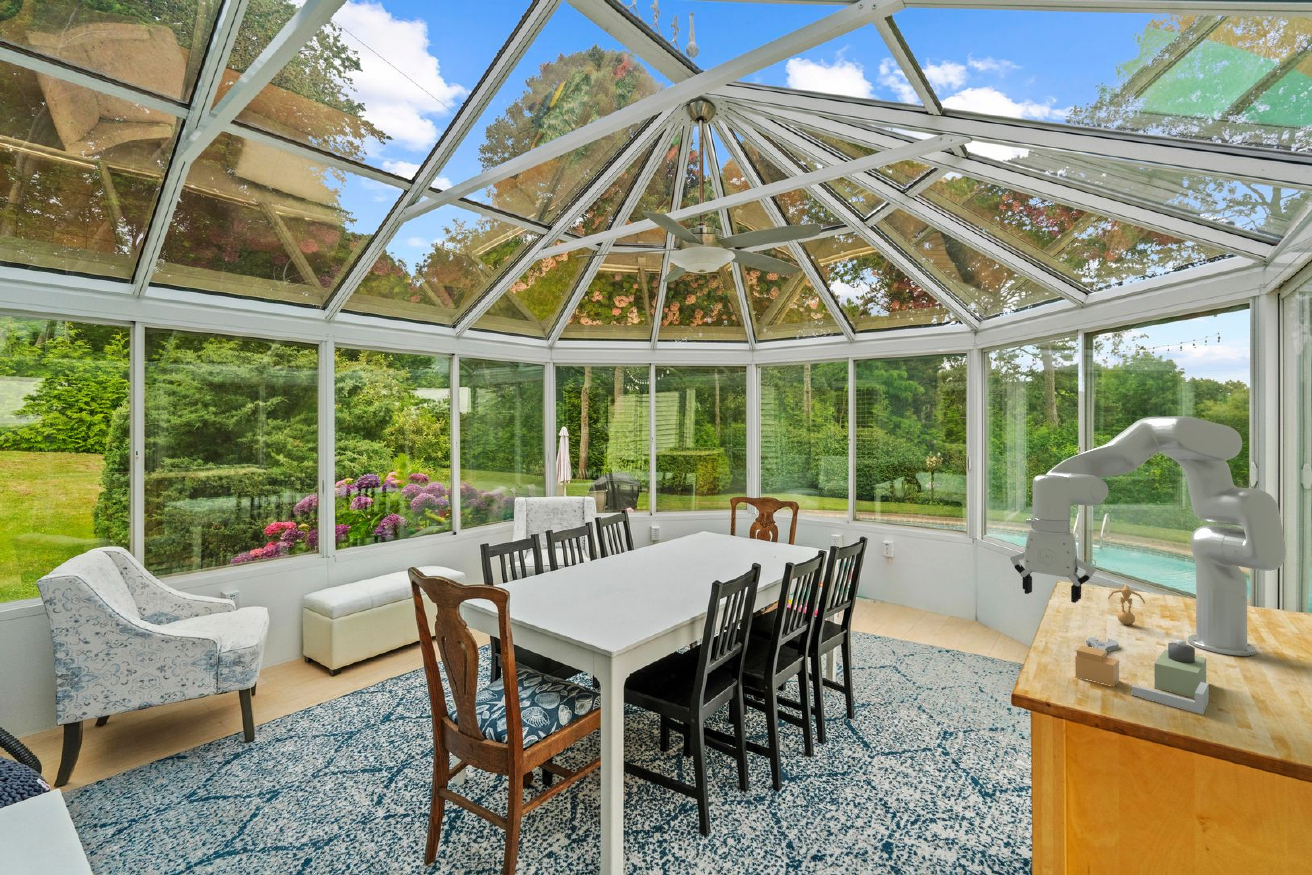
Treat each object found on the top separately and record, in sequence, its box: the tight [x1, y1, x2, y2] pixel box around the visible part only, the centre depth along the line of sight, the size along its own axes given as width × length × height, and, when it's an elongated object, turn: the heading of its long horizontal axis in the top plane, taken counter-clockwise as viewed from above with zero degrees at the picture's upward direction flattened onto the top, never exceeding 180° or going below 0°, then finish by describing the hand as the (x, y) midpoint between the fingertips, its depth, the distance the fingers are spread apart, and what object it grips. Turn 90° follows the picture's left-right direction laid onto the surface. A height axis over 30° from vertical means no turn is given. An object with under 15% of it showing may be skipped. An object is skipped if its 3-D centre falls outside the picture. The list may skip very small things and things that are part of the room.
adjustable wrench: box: [1085, 636, 1120, 652], centre depth 146 cm, size 25×6×2 cm, turn 132°
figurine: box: [1107, 584, 1146, 626], centre depth 167 cm, size 8×6×12 cm
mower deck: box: [1131, 639, 1210, 716], centre depth 126 cm, size 20×11×10 cm, turn 130°
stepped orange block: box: [1074, 644, 1120, 688], centre depth 132 cm, size 5×7×6 cm
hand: (1051, 597), depth 139 cm, fingers open, 9 cm apart
